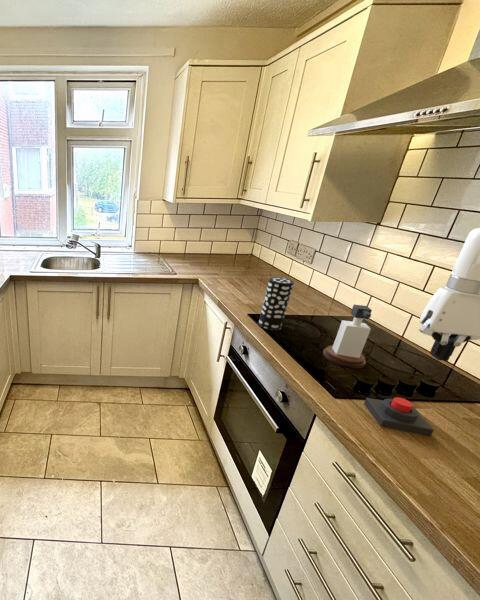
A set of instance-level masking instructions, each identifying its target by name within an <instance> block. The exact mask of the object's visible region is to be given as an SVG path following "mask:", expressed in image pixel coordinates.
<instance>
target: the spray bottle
mask: <svg viewBox="0 0 480 600" xmlns="http://www.w3.org/2000/svg"><path fill="white" fill-rule="evenodd" d="M372 312H373V309H372V308H370V307H369V306H367V305H363V304H361V305H360V304H353V305H352V308H351V311H350V315H351V316H353V319H352V321H351V320H345V319H344V320H343V319H342V320H341V322H340V325H339V328H338V330H337V333H336V336H335V339H334V342H333V344H332V345H328V346H327V347H325V348H326V352H327V353H328V354H329V355H331V356H332V357H334V358H336V359H338V360H341V361H344V362H349V363H362V362H364V360H366V357H365V356H364V355H363V353H362V352H363V350H364V347H365V344H366V342H367V340H368V338H369V335H370V333H371V330H372V328H371V327H370V326H369V325H368V324H367V323H365V322H363V320H369V319H370V318H371V316H372Z"/></svg>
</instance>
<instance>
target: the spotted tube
mask: <svg viewBox="0 0 480 600" xmlns="http://www.w3.org/2000/svg"><path fill="white" fill-rule="evenodd" d="M294 284H295V283H294V280H292V279H289V278H286V277H281V276H280V277H279V276H273V277H272V276H271V277H269V279H268V283H267V287H266V291H265V294H264V295H265V296H264V299H263V304H262V307H261V312H260V315H259V318H258V319H259V320H258V323H257V324H258V325H259V326H260V327H261V328H263V329H266V330H270V331H280V330H281V329H282V326H283V322H284V319H285V316H286V312H287V309H288V304H289V301H290V297H291V294H292V292H293V291H292V290H293V287H294Z"/></svg>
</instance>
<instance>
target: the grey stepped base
mask: <svg viewBox="0 0 480 600" xmlns="http://www.w3.org/2000/svg"><path fill="white" fill-rule="evenodd" d="M393 399H394V398H385V399H383V400H382V399H377V398H371V397H366V398H365V401H364V402H363V405H364V406H365V408H366V409H367V410H368V412H369V413H370V415H371V416H372V418H373V419H374V420H375V421H376V423H377V424H378V426H379V427H381V428H385V429H386V428H387V429H390V430H396V431H401V432H406V433H410V434H416V435H421V436H426V437H432V435H433V433H434V430H435V429H434V428H433V427H432V425H430V424H429V422H428V421H427V420H426V419H425V418H424V417H423V416H422V415H421V414H420V412H419V410H417V409H416V407H414V406H413V407H412V409H411V411H410V413H405V412H401V411H399V410H396V409H395V408H393V407H392V406H391V403H392V401H393Z"/></svg>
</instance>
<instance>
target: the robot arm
mask: <svg viewBox="0 0 480 600" xmlns="http://www.w3.org/2000/svg"><path fill="white" fill-rule="evenodd" d="M419 323H420V324H421V326H420V328H419V329H418V331H419V332H420V333H422V334H423V335H426V336H430V337H432V340H434V342H433V344H432V346H431V348H430V355H431V356H432V357H433V358H434V359H436V360H437V361H443V362H448V361H449V360H450V357H452V355H453V354H454V351H455V349H456V348H458V347H460V346H461V345H462V344H463V343H465V342H468V341H475V340H476V341H478V340H480V227H476V228H473V229H472V230H471V231H470V232H469V233H468V235H467V237H466V239H465V241H464V243H463V246H462V248H461V250H460V252H459V255H458V257H457V259H456V261H455V263H454V266H453V268H452V270H451V273H450V275H449V278H448V280H447V281H446V283H445V286H440V287H439V288H437V290H436V291H435V292H434V294H433V295H432V296H431V298H430V299H429V301H428V302H427V304H426V306H425V308H424V310H423V312H422V313H421V316H420V318H419Z"/></svg>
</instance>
